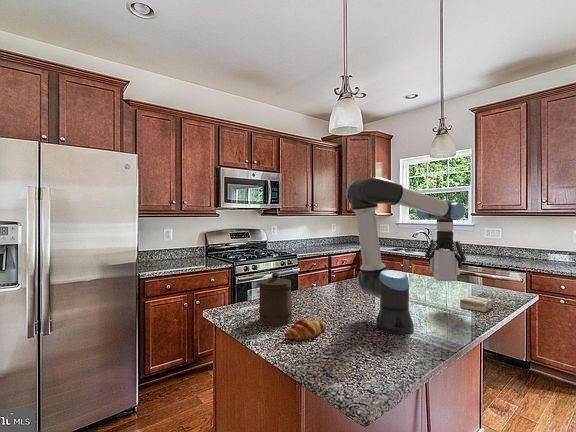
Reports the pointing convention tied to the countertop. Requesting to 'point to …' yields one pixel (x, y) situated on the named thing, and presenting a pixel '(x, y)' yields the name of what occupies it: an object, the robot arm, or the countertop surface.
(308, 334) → the croissant
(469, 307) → the tan picture frame
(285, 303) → the wooden container
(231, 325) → the countertop surface
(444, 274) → the supplement box
